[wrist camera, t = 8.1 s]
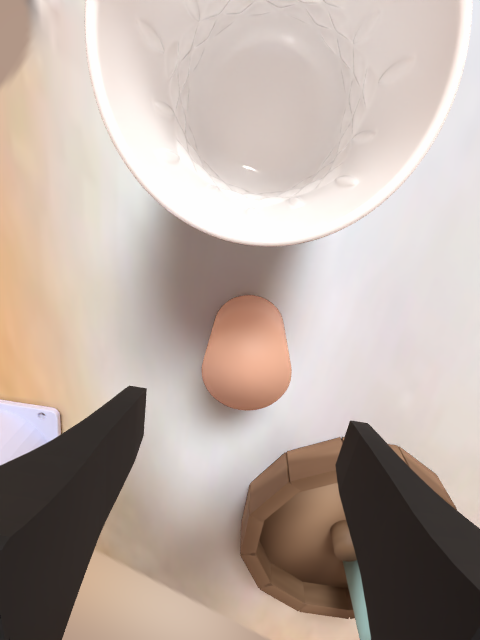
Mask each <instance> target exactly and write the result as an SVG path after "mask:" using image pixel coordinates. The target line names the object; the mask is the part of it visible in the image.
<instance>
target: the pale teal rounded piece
mask: <svg viewBox="0 0 480 640" xmlns="http://www.w3.org/2000/svg"><path fill="white" fill-rule="evenodd" d="M343 565H344V570H345V574H346V579H347V583H348V588H349V592H350V597H351V601H352V606H353V611H354V615H355V620H356V624H357V629H358V633H359V638H360V640H371V635H370V629H369V622H368V616H367V609H366V603H365V598H364V592H363V586H362V580H361V575H360V570H359V566H358V562H357V560H356V561H351V562H348V561H343Z"/></svg>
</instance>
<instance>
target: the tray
mask: <svg viewBox="0 0 480 640" xmlns="http://www.w3.org/2000/svg"><path fill="white" fill-rule="evenodd" d="M344 438H345V437H342V440H341V438H340V437H339V438H336V439H332V440H328V441H324V442H321V443H317V444H313V445H309V446H306V447H302V448H298V449H294V450H291V451H287V453H284V454H283V455H282V456H281V457H279V458H278V459H277V460H276V461H275V462H274V463H273V464H272V465H270V466H269V467H268V468H267V469H266V470H265V471H264V472H263V473H261V474H260V475H259V476H258V477H257V478H256V479H255V480H254V481H252V482H251V485H250V486H249V490H248V495H247V499H246V504H245V508H244V513H243V517H242V526H241V549H240V554H241V557H242V559H243V561H244V563H245V564H246V566H247V568H248V570H249V572H250V573H251V575H252V577H253V579H254V581H255V582H256V584H257V586H258V588H260V590H262V591H264V592H265V593H267V594H269V595H271V596H272V597H274V598H276V599H278V600H279V601H281V602H283V603H285V604H286V605H288V606H290V607H292V608H293V609H295V610H297V611H299V610H300V612H305V613H312V614H318V615H325V616H332V617H339V618H346V619H348V618H349V617H350V619H352V618H355V615H354V611H353V606H352V601H351V597H350V592H349V588H348V583H347V579H346V574H345V570H344V565H343V561H348V562H351V561H356V560H357V558H356V554H355V550H354V547H353V543H352V539H351V536H350V532H349V528H348V525H347V521H346V517H345V514H344V510H343V506H342V502H341V499H340V495H339V489H338V482H337V474H336V466H335V465H336V462H337V459H338V456H339V453H340V450H341V447H342V444H343V441H344ZM388 445H389V446H390V447H391V448H392V449H393V450H394V452H395V453H396V454H397V455H398V456H399V457H400V458H401V459H402V460H403V461H404V462H405V463H406V464H407V465H408V466H409V467H410V468H411V469H412V470H413V471H414V472H415V473H416V474H417V475H418V476H419V477H420V478H421V479H422V480H423V481H424V482H425V483H426V484H427V485H428V486H429V487H431V488H432V489H433V490H434V491H435V492H436V493H437V494H438V495H439V496H440V497H441V498H443V499H444V500H445V501H446V502H447V503H448V504H450V505H451V506H452V507H453V508H454V509H456V507H455V505H454V503H453V502H452V500H451V498H450V497H449V495H448V493H447V492H446V490H445V488H444V487H443V485H442V483H441V481H440V480H439V478H438V476H437V475H436V474H435V473H434V472H432V471H431V470H430V469H428V468H427V467H426V466H424V465H423V464H422V463H420V462H419V461H418V460H416V459H415V458H414V457H412V456H411V455H410V454H409V453H407V452H406V451H405V450H403V449H402V448H401V447H398V446H396V445H390V444H388ZM456 510H457V509H456Z"/></svg>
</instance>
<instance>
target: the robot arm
mask: <svg viewBox="0 0 480 640" xmlns="http://www.w3.org/2000/svg"><path fill="white" fill-rule="evenodd" d="M146 390H147V388H140V387H134V386H128V387H127V388H125V389H124V390H123V391H121V392H120V393H119V394H118V395H116V396H115V397H114V398H112V399H111V400H110V401H109V402H107V403H106V404H105V405H103V406H102V407H101V408H99V409H98V410H97V411H95V412H94V413H92V414H91V415H90V416H88V417H87V418H85V419H84V420H83V421H81V422H80V423H78V424H77V425H75V426H73V427H72V428H70V429H69V430H67V431H66V432H64V433H63V434H61V424H60V413H59V411H58V410H57V409H55V408H52V407H45V406H39V405H32V404H26V403H19V402H13V401H6V400H0V640H62V637H63V635H64V632H65V629H66V626H67V623H68V620H69V617H70V614H71V611H72V608H73V606H74V603H75V600H76V597H77V594H78V592H79V589H80V586H81V583H82V581H83V578H84V575H85V572H86V570H87V567H88V564H89V562H90V559H91V556H92V554H93V551H94V548H95V546H96V543H97V540H98V538H99V535H100V533H101V531H102V528H103V526H104V524H105V522H106V520H107V517H108V515H109V513H110V511H111V509H112V507H113V505H114V503H115V501H116V499H117V497H118V495H119V493H120V491H121V489H122V487H123V485H124V483H125V481H126V478H127V476H128V474H129V472H130V470H131V468H132V466H133V464H134V462H135V459H136V456H137V453H138V450H139V447H140V444H141V441H142V438H143V435H144V421H145V406H146ZM42 413H44V414H45V415H43V414H42ZM335 466H336V474H337V482H338V489H339V495H340V499H341V502H342V506H343V510H344V514H345V517H346V521H347V525H348V528H349V532H350V536H351V539H352V543H353V547H354V550H355V554H356V558H357V562H358V566H359V570H360V575H361V580H362V586H363V592H364V598H365V603H366V609H367V616H368V622H369V629H370V635H371V640H480V529H479V528H478V527H477V526H476V525H474V524H473V523H472V522H470V521H469V520H468V519H467V518H465V517H464V516H463V515H462V514H460V513H459V512H458V511H457V510H456V509H454V508H453V507H452V506H451V505H450V504H448V503H447V502H446V501H445V500H444V499H443V498H441V497H440V496H439V495H438V494H437V493H436V492H435V491H434V490H433V489H432V488H431V487H429V486H428V485H427V484H426V483H425V482H424V481H423V480H422V479H421V478H420V477H419V476H418V475H417V474H416V473H415V472H414V471H413V470H412V469H411V468H410V467H409V466H408V465H407V464H406V463H405V462H404V461H403V460H402V459H401V458H400V457H399V456H398V455H397V454H396V453H395V452H394V450H393V449H392V448H391V447H390V446H389V445H388V444H387V443H386V442H385V441H384V440H383V439H382V438H381V437H380V435H379V434H378V433H377V432H376V431H375V430H374V429H373V428H372V427H371V426H370V425H369V424H368V423H363V422H356V421H350V423H349V426H348V429H347V432H346V435H345V438H344V441H343V444H342V447H341V450H340V453H339V456H338V459H337V462H336V465H335Z"/></svg>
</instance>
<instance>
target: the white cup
mask: <svg viewBox="0 0 480 640" xmlns="http://www.w3.org/2000/svg"><path fill="white" fill-rule="evenodd" d="M471 19H472V0H86V1H85V42H86V53H87V61H88V68H89V73H90V78H91V83H92V87H93V91H94V95H95V99H96V102H97V105H98V108H99V111H100V114H101V117H102V119H103V122H104V124H105V127H106V129H107V131H108V133H109V136H110V138H111V140H112V142H113V144H114V146H115V147H116V149H117V151H118V153H119V154H120V156H121V158H122V159H123V161H124V163H125V164H126V166H127V167H128V168H129V170H130V171H131V173H132V174H133V175H134V177H135V178H136V179H137V180H138V182H139V183H140V184H141V185H142V186H143V188H144V189H145V190H146V191H147V192H148V193H149V194H150V195H151V196H152V197H153V198H154V199H155V200H156V201H157V202H158V203H159V204H161V205H162V206H163V207H164V208H165V209H166V210H168V211H169V212H170V213H172V214H173V215H174V216H176V217H177V218H179V219H180V220H182V221H183V222H185V223H187V224H188V225H190V226H192V227H194V228H196V229H198V230H200V231H202V232H204V233H206V234H208V235H211V236H214V237H216V238H219V239H222V240H226V241H229V242H234V243H238V244H244V245H251V246H267V247H271V246H287V245H294V244H300V243H304V242H309V241H312V240H316V239H319V238H322V237H325V236H328V235H330V234H333V233H335V232H337V231H339V230H342V229H344V228H346V227H347V226H349V225H351V224H353V223H355V222H356V221H358V220H360V219H361V218H363V217H364V216H366V215H367V214H369V213H370V212H371V211H373V210H374V209H375V208H377V207H378V206H379V205H381V204H382V203H383V202H384V201H385V200H386V199H388V198H389V197H390V196H391V195H392V194H393V193H394V192H395V191H396V190H397V189H398V188H399V187H400V186H401V185H402V184H403V183H404V182H405V181H406V179H407V178H408V177H409V176H410V175H411V174H412V172H413V171H414V170H415V169H416V167H417V166H418V165H419V163H420V162H421V161H422V159H423V158H424V156H425V155H426V153H427V152H428V150H429V149H430V147H431V146H432V144H433V142H434V141H435V139H436V137H437V135H438V133H439V132H440V130H441V128H442V126H443V124H444V122H445V120H446V117H447V115H448V113H449V111H450V108H451V106H452V103H453V101H454V98H455V95H456V92H457V90H458V86H459V83H460V80H461V76H462V73H463V69H464V65H465V60H466V56H467V50H468V45H469V38H470V30H471Z"/></svg>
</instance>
